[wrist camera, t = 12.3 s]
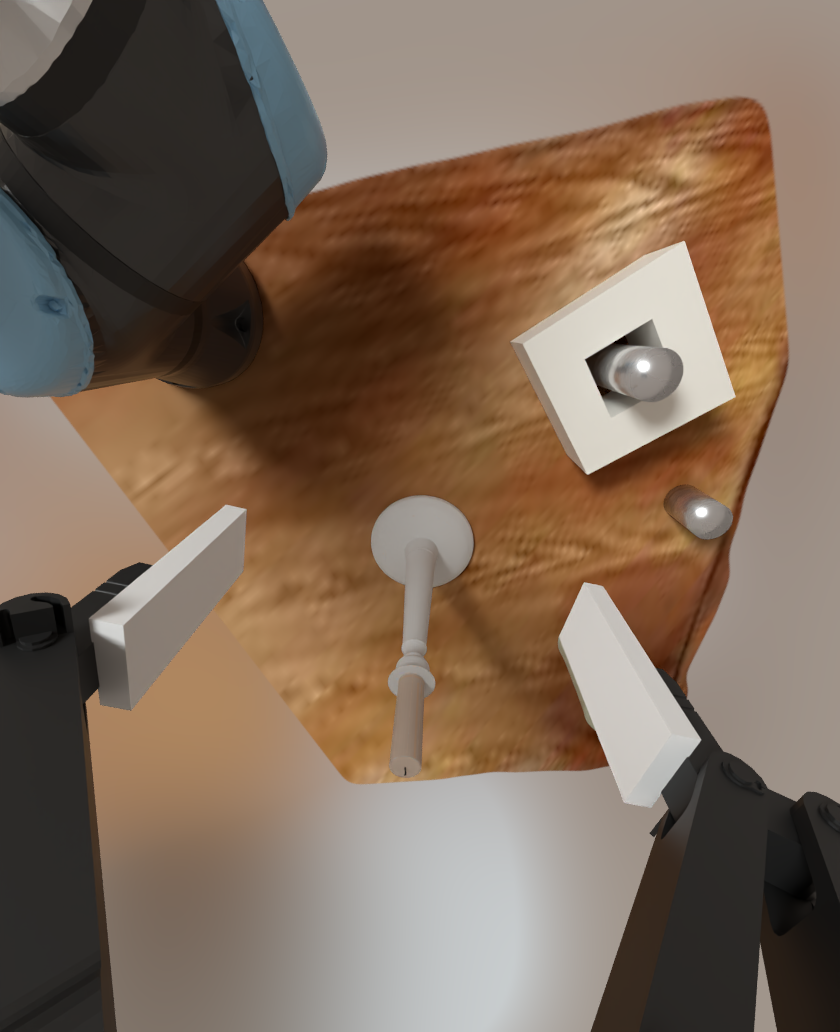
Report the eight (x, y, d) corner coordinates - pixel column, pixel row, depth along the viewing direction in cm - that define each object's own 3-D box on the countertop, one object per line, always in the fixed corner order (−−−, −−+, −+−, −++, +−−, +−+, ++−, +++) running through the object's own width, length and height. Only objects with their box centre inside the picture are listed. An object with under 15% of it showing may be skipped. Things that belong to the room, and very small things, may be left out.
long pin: (574, 357, 43) (621, 366, 32) (611, 335, 42) (673, 336, 31) (589, 391, 44) (640, 412, 33) (626, 370, 43) (690, 384, 32)
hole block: (509, 341, 42) (522, 343, 36) (644, 255, 39) (684, 240, 33) (567, 455, 47) (587, 474, 41) (691, 387, 44) (735, 396, 37)
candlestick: (425, 474, 49) (408, 659, 21) (494, 546, 52) (555, 785, 25) (350, 538, 53) (255, 765, 25) (419, 601, 56) (401, 861, 29)
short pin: (658, 495, 49) (686, 516, 43) (693, 478, 48) (726, 497, 42) (670, 521, 50) (698, 545, 44) (704, 505, 49) (737, 528, 43)
